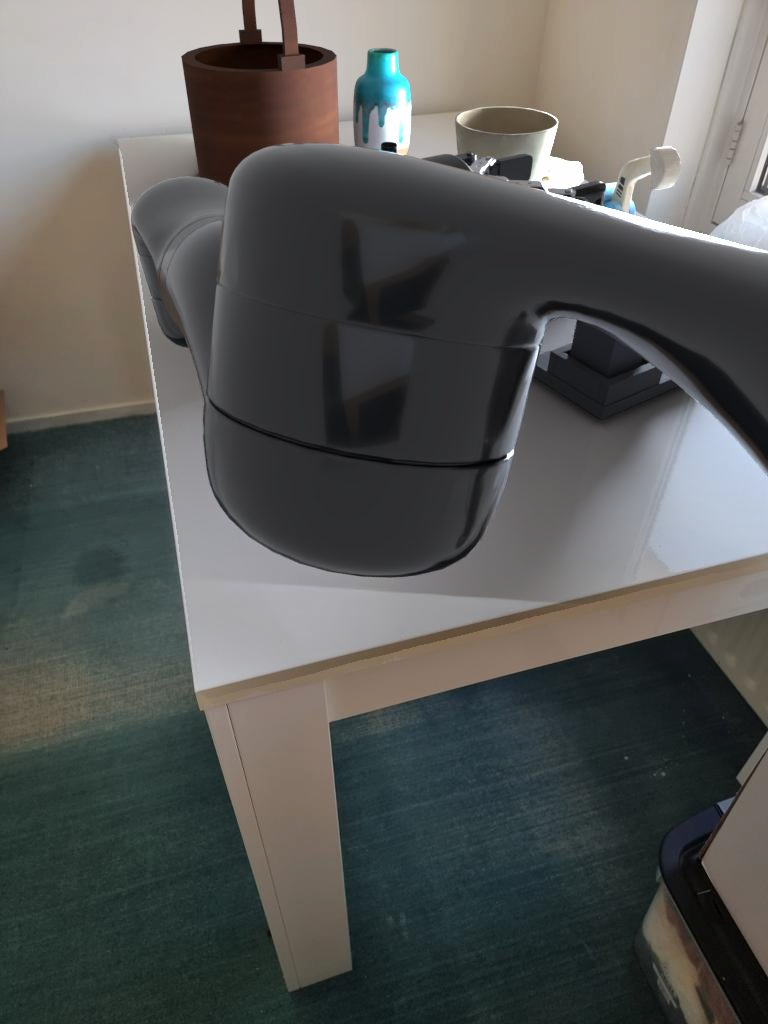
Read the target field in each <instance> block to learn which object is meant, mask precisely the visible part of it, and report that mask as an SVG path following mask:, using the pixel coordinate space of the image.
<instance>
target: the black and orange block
mask: <svg viewBox="0 0 768 1024" xmlns="http://www.w3.org/2000/svg"><path fill="white" fill-rule="evenodd" d="M571 343H572V347H571V352H570V356H571V357H572V358H574V359H576V360H577V361H579V362H581V363H582V364H584V365H586V366H587V367H589V368H591V369H592V370H594V371H596V372H597V373H599V374H601V375H602V376H604V377H606V378H607V379H611V378H613V377H616V376H618V375H620V374H623V373H625V372H628V371H630V370H633V369H635V368H638V367H640V366H641V363H642V359H643V358H642V357H641V356H639V355H638V354H637V353H635V352H634V351H633V350H631V349H630V348H628V347H626V346H625V345H623V344H621V343H620V342H618V341H616V340H615V339H613V338H611V337H610V336H608V335H606V334H605V333H603V332H601V331H599V330H598V329H596V328H594V327H592V326H590V325H588V324H586V323H584V322H582V321H580V320H577V319H576V322H575V326H574V332H573V338H572V342H571Z"/></svg>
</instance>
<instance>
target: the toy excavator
mask: <svg viewBox="0 0 768 1024" xmlns="http://www.w3.org/2000/svg"><path fill="white" fill-rule="evenodd" d="M681 172H682V160H681V156H680V153H679V151H678V150H677V149H676V148H675V147H674V146H671V145H665V146H658V147H654V148H653V147H652V148H650V149H649V154H648V155H645V156H641V157H639V158H635V159H632V160H629V161H627V162H626V163H625V164H623V166H622V168H621V170H620V172H619V175H618V177H617V181H616V182H610V183H605V184H606V191H605V196H604V201H603V206H602V207H604V208H608V209H612V210H615V211H619V212H622V213H626V214H630V215H633V216H636V204H635V202H634V201H633V200H632V199H633V194H634V189H635V185H636V183H637V182H638V181H640V180H642V179H643V178H645V177H648V176H650V179H651V180H650V184H651V185H650V191H651V192H654V191H660V190H661V191H662V190H666V189H670V188H672V187H673V186H675V185H676V183H677V182H678V181H679V178H680V176H681Z"/></svg>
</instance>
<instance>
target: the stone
mask: <svg viewBox="0 0 768 1024" xmlns="http://www.w3.org/2000/svg"><path fill="white" fill-rule="evenodd" d="M584 180H585V175H584V173H583V165H582V164H581V162H579V161H570V160H565V159H563V158H560V157H556V156H555V157H554V156H552V155H549V158H548V161H547V164H546V167H545V170H544V173H543V176H542V179H541V182H543V183H544V186H545V187H546V188H562V189H566V188H569V187H573V186H577V185H581V184H582V182H583V183H584Z"/></svg>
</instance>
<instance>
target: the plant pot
mask: <svg viewBox="0 0 768 1024" xmlns="http://www.w3.org/2000/svg"><path fill="white" fill-rule="evenodd" d="M454 120H455V121H454V123H455V125H454V126H455V138H456V150H457V155H459V154H463V153H467V152H472V153H474V154H476V159H478V160H481V159H482V158H483V157H487V156H490V157H492V158H495V159H500V158H505V157H509V156H514V155H519V154H524V153H525V154H528V155H531V156H532V157H533V163H532V171H531V177H530V179H529V180H528V181H541V179H542V176H543V173H544V170H545V167H546V164H547V161H548V158H549V156H551V151H552V148H553V145H554V140H555V137H556V133H557V129H558V125H559V120H558V118H557V117H556V116H554V115H552V114H551V113H548V112H545V111H543V110H542V111H541V110H539V109H534V108H526V107H519V106H484V107H476V108H470V109H467V110H464V111H461V112H460V113H458V114H457V115H456V116H455V119H454Z"/></svg>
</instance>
